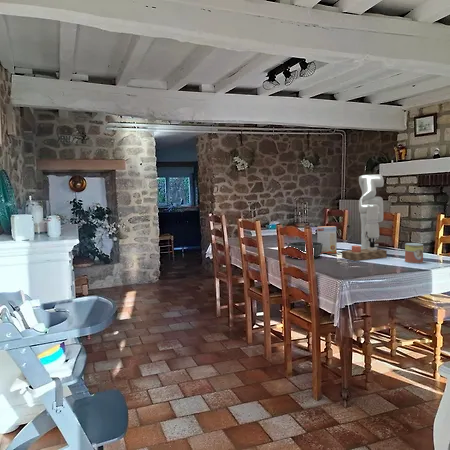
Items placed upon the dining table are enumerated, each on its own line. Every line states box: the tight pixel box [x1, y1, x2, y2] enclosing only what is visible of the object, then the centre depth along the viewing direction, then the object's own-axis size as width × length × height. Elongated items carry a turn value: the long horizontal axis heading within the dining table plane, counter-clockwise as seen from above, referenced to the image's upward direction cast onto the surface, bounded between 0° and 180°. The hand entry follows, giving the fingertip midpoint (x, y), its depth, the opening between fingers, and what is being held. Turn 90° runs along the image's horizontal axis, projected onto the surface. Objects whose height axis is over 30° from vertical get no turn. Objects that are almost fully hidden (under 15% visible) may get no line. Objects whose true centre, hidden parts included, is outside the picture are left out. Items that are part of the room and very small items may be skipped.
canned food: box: [404, 242, 424, 264], centre depth 279 cm, size 11×11×12 cm
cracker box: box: [316, 225, 338, 255], centre depth 322 cm, size 14×6×21 cm, turn 84°
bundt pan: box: [286, 241, 323, 258], centre depth 310 cm, size 26×26×10 cm
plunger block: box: [341, 248, 388, 262], centre depth 299 cm, size 28×14×5 cm, turn 111°
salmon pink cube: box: [351, 244, 361, 252], centre depth 296 cm, size 4×4×4 cm
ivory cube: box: [368, 246, 378, 251], centre depth 301 cm, size 4×4×4 cm
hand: (372, 247), depth 300 cm, fingers closed
